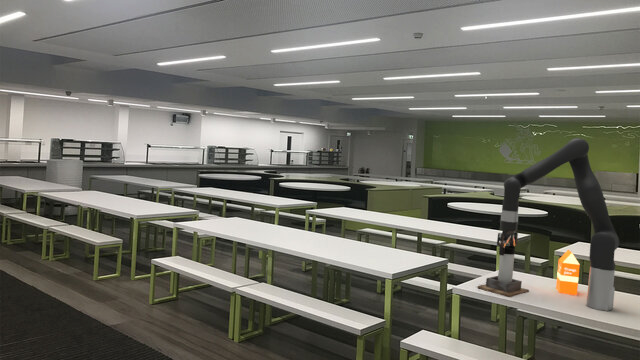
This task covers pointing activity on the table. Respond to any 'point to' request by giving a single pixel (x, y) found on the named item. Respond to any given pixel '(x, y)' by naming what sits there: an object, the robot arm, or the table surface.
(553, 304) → the table surface
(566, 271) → the orange juice
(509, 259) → the travel mug
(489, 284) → the grey tray on board
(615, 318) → the table surface
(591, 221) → the robot arm
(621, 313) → the table surface
